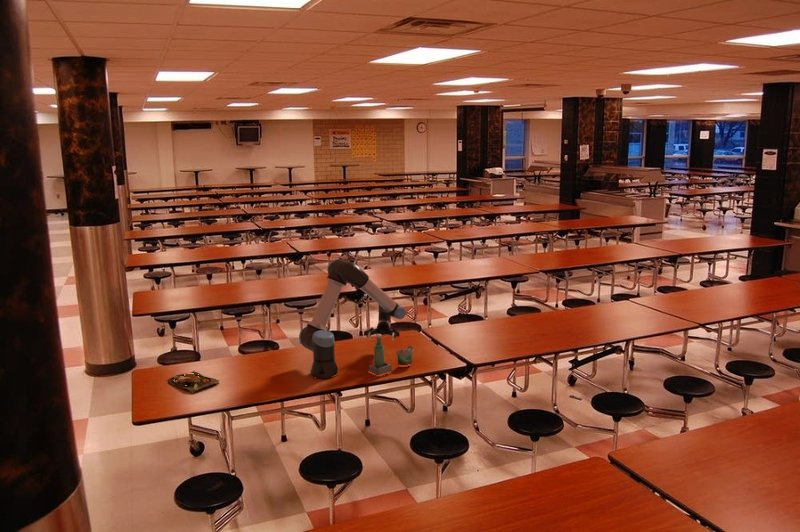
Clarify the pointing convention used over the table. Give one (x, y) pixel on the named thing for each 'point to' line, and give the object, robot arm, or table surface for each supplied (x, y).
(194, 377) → the prepared meal
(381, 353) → the bottle
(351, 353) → the table surface
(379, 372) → the bottle rest
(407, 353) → the food container
